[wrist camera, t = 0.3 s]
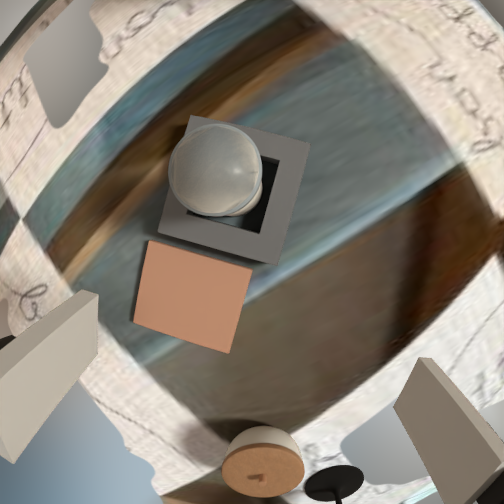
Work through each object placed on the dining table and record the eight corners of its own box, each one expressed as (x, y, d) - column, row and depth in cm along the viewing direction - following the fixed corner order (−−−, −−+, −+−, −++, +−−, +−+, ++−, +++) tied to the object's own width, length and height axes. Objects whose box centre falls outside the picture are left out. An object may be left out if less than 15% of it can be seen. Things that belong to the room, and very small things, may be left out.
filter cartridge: (215, 155, 36) (183, 116, 21) (270, 169, 36) (272, 135, 21) (200, 209, 37) (157, 203, 22) (255, 224, 37) (247, 227, 22)
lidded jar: (244, 469, 40) (239, 511, 31) (215, 423, 40) (204, 466, 30) (309, 452, 40) (315, 495, 30) (286, 404, 39) (290, 446, 29)
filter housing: (196, 122, 36) (190, 115, 33) (307, 149, 35) (310, 143, 32) (165, 231, 37) (157, 232, 34) (276, 262, 37) (277, 266, 34)
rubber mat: (152, 239, 37) (149, 240, 36) (252, 268, 37) (252, 270, 36) (136, 320, 39) (133, 322, 38) (229, 350, 38) (228, 353, 37)
